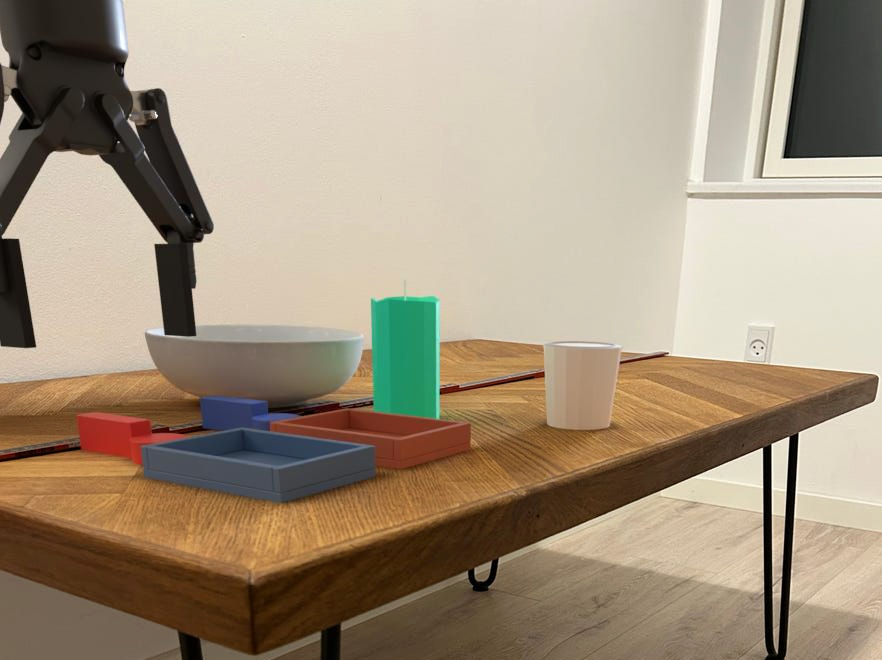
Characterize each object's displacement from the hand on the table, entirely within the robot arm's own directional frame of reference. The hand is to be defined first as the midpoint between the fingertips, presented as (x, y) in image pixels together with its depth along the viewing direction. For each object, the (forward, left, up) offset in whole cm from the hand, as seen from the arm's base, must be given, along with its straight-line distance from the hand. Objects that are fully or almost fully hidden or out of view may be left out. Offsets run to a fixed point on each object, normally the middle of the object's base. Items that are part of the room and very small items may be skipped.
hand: (106, 341), depth 67 cm
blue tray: (+14, 0, -8) cm, 16 cm away
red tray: (+14, +12, -8) cm, 20 cm away
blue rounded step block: (+2, +12, -8) cm, 14 cm away
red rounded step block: (+2, 0, -8) cm, 8 cm away
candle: (+8, +26, -8) cm, 28 cm away
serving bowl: (-10, +26, -8) cm, 29 cm away
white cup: (+22, +33, -8) cm, 40 cm away
